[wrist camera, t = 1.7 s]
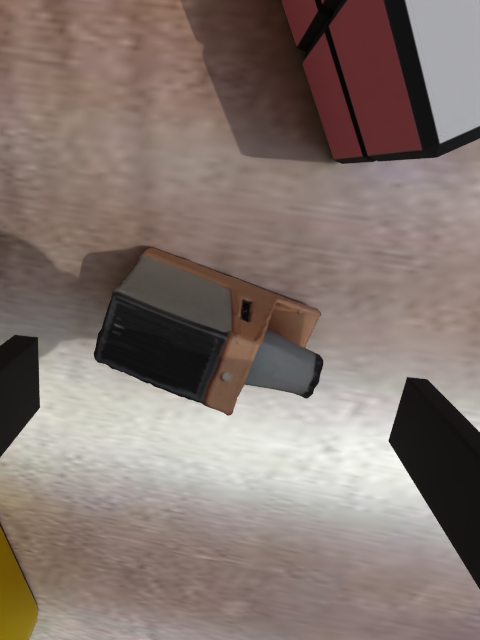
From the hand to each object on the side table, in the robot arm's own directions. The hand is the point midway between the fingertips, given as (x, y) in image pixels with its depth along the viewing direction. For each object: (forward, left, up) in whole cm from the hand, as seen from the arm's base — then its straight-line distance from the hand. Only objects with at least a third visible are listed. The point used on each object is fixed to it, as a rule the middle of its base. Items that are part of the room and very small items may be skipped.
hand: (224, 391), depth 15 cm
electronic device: (0, 0, -8) cm, 8 cm away
